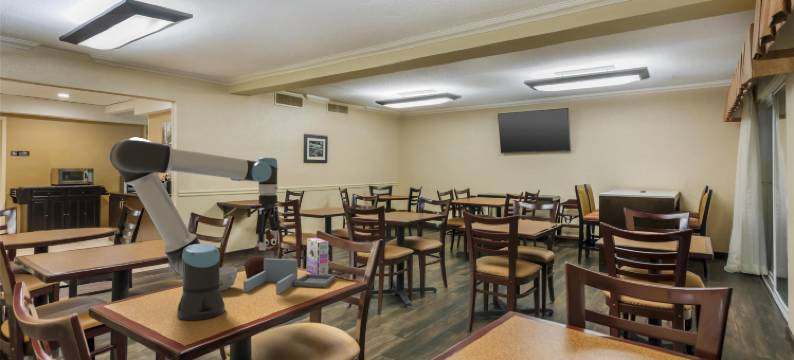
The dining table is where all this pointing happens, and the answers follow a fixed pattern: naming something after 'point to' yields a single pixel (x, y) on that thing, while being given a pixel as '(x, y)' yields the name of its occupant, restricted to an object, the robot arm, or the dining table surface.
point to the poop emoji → (268, 242)
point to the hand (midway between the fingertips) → (268, 247)
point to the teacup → (226, 277)
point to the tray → (314, 280)
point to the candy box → (318, 256)
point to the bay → (275, 274)
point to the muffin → (254, 265)
